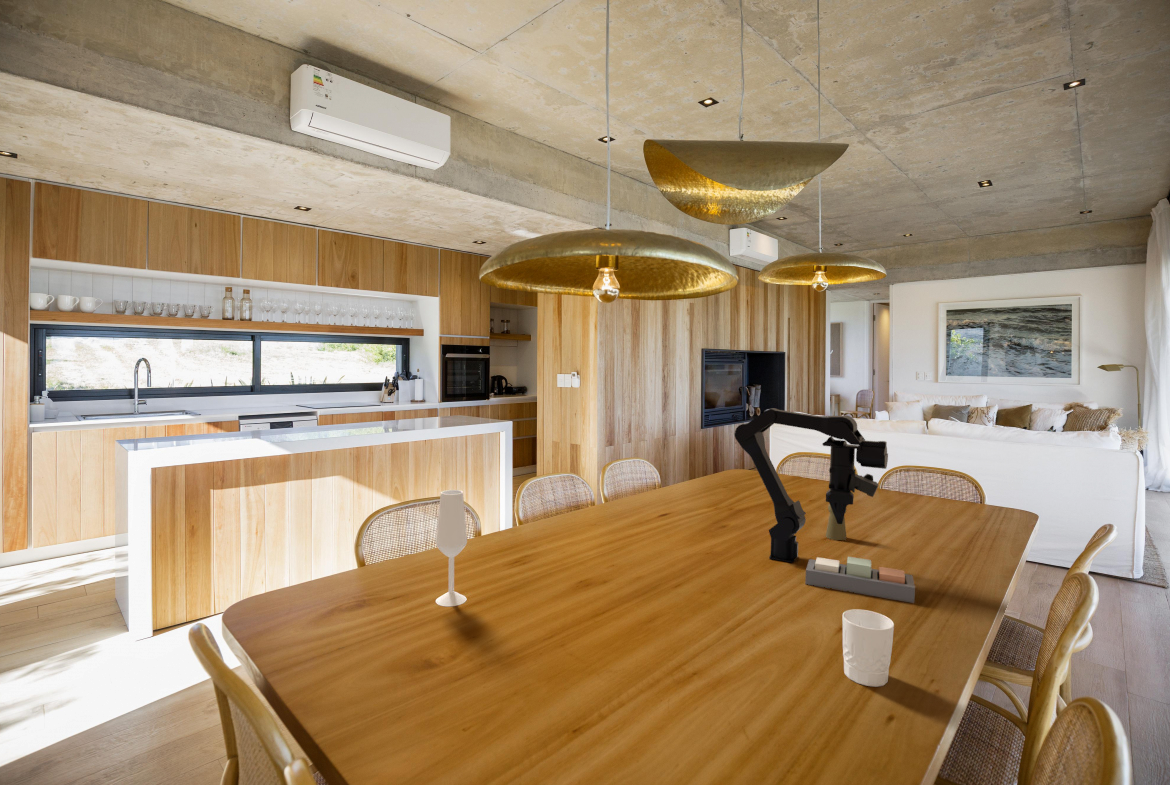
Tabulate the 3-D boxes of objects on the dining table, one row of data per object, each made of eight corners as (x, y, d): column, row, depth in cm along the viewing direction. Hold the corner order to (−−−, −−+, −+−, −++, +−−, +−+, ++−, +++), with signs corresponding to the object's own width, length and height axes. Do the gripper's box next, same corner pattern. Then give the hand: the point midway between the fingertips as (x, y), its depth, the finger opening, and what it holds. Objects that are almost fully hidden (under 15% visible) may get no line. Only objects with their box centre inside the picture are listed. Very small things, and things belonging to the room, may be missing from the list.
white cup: (831, 664, 102) (833, 609, 101) (873, 663, 103) (876, 608, 102) (856, 690, 94) (858, 630, 94) (901, 688, 95) (904, 629, 94)
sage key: (846, 579, 137) (846, 562, 137) (847, 572, 142) (847, 556, 142) (870, 583, 135) (871, 566, 135) (870, 576, 140) (871, 560, 139)
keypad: (805, 584, 140) (805, 569, 139) (808, 572, 148) (809, 559, 148) (914, 603, 129) (914, 587, 129) (911, 589, 137) (912, 575, 137)
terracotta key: (878, 590, 134) (879, 573, 134) (878, 583, 139) (879, 566, 139) (904, 594, 132) (905, 577, 132) (903, 587, 137) (904, 570, 136)
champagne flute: (439, 608, 122) (440, 496, 121) (432, 597, 128) (432, 490, 127) (470, 603, 125) (471, 494, 124) (462, 592, 131) (462, 487, 130)
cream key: (814, 579, 140) (815, 563, 140) (816, 572, 145) (816, 557, 145) (837, 583, 138) (838, 567, 138) (838, 576, 143) (839, 560, 143)
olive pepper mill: (848, 541, 175) (850, 505, 174) (827, 540, 176) (829, 504, 175) (844, 535, 181) (845, 501, 180) (823, 534, 182) (825, 499, 181)
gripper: (877, 473, 137) (874, 537, 138) (876, 462, 154) (874, 519, 155) (826, 468, 142) (824, 531, 143) (831, 458, 159) (829, 514, 160)
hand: (839, 523), depth 150 cm, fingers closed
